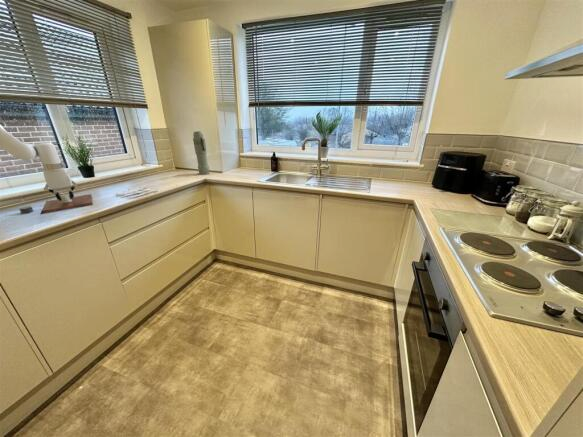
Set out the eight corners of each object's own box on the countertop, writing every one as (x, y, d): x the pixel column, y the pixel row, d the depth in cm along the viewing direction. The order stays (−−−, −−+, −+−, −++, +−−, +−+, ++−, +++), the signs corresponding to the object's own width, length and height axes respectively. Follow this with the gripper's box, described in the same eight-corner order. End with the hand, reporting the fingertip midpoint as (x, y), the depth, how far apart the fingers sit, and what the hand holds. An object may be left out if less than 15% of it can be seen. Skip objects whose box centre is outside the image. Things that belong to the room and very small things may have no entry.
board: (39, 214, 122) (37, 211, 122) (44, 204, 138) (43, 201, 138) (92, 204, 135) (91, 202, 134) (91, 196, 151) (91, 193, 150)
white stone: (61, 203, 133) (59, 196, 132) (62, 201, 136) (59, 194, 135) (71, 201, 136) (69, 195, 134) (72, 200, 139) (70, 193, 137)
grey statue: (206, 175, 204) (199, 131, 190) (195, 174, 208) (188, 131, 194) (213, 173, 211) (207, 131, 198) (202, 172, 215) (195, 131, 202)
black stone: (21, 217, 119) (18, 209, 117) (23, 215, 122) (19, 207, 120) (34, 215, 121) (30, 207, 120) (35, 212, 124) (32, 205, 123)
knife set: (107, 194, 153) (107, 193, 153) (158, 182, 181) (158, 181, 181) (129, 200, 141) (129, 198, 141) (180, 186, 169) (180, 184, 169)
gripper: (73, 164, 136) (85, 194, 143) (32, 168, 126) (46, 201, 133) (73, 165, 131) (85, 197, 138) (30, 170, 121) (45, 204, 128)
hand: (66, 198), depth 135 cm, fingers closed on white stone, 4 cm apart
